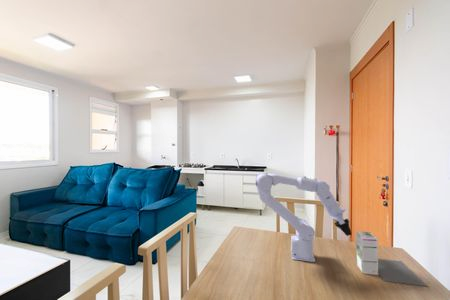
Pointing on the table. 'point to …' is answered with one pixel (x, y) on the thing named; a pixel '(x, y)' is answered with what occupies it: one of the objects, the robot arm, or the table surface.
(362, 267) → the syrup box
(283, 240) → the table surface
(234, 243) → the table surface
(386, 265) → the mat
